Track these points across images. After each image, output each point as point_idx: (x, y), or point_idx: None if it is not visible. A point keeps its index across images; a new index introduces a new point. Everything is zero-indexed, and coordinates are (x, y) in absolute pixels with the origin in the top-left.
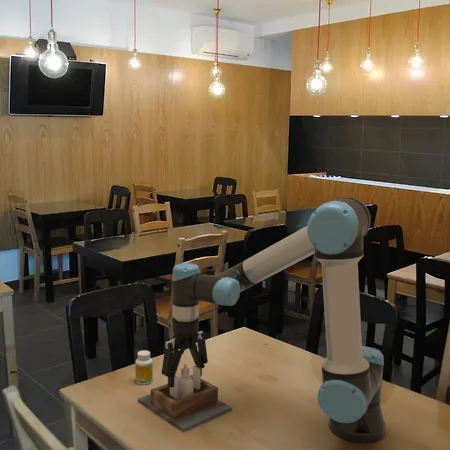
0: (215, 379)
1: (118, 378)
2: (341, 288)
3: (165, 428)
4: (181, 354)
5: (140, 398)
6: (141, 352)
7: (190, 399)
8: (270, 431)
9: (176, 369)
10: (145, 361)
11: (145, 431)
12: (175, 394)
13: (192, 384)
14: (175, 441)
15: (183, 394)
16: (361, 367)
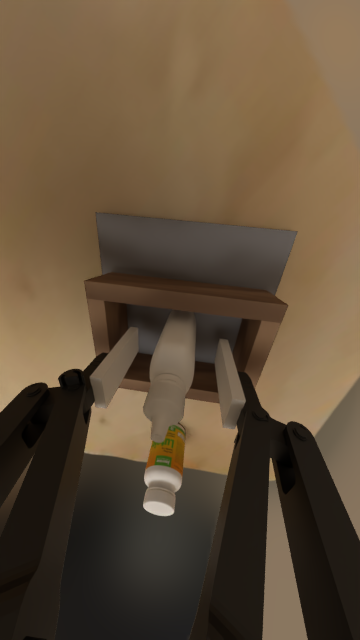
0: (53, 352)
1: (194, 455)
2: None
3: (298, 286)
4: (215, 613)
5: None
6: (161, 512)
7: (212, 295)
8: None
9: (245, 442)
10: (167, 481)
11: (338, 312)
12: (229, 347)
13: (168, 337)
14: (352, 209)
15: (195, 337)
16: None
